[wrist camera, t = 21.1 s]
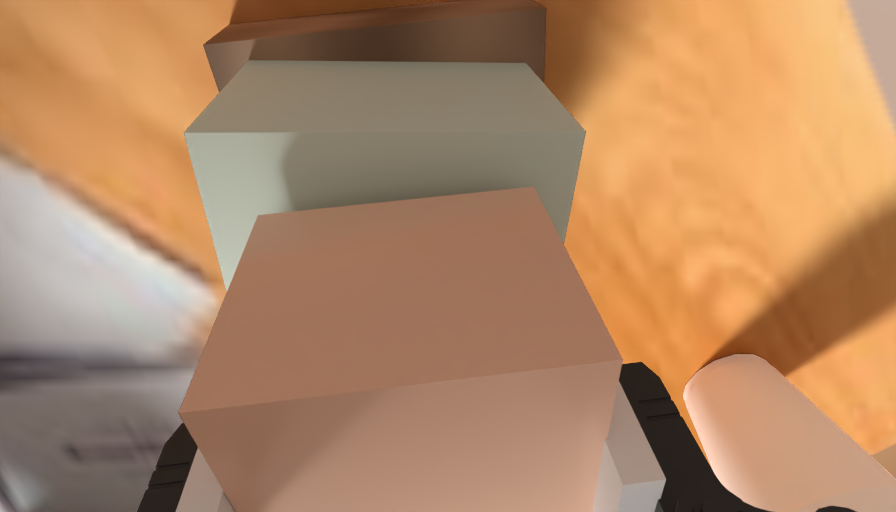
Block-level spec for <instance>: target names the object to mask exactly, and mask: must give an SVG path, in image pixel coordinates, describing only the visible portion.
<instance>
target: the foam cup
mask: <svg viewBox="0 0 896 512" xmlns="http://www.w3.org/2000/svg"><path fill="white" fill-rule="evenodd" d="M683 399H684V401H685V402H686V407H687V409H688V412H689V414H690V417H691V419H692V421H693V424H694V426H695V429H696V431H697V433H698V436H699V438H700V441H701V443H702V445H703V448H704V450H705V453H706V455H707V457H708V460H709V462H710V464H711V467H712V469H713V472H714V474H715V475H716V477H717V478H718V480H719V481H720V482H721V484H722V485H723V486H724V487H725V488H726V489H727V490H729V491H730V492H731V493H733V494H734V495H736V496H737V497H739V498H740V499H741V500H742V501H743V502H745V503H747V504H750V505H752V506H754V507H756V508H760V509H763V510H767V511H772V512H816V511H817V510H818V509H819V508H823V507H827V506H838V507H845V508H849V509H852V510H854V511H856V512H896V478H895V477H894V476H892V475H891V474H890V473H889V472H888V471H887V470H886V469H885V468H883V466H881V465H880V464H879V463H878V462H877V461H876V460H875V459H874V458H873V457H872V456H871V455H869V454H868V453H867V452H866V451H865V450H864V449H863V448H862V447H861V446H860V445H859V444H857V443H856V442H855V441H854V440H853V439H852V438H851V437H850V436H849V435H848V434H847V433H845V432H844V431H843V430H842V429H841V428H840V427H839V426H838V425H837V424H836V423H835V422H833V421H832V420H831V419H830V418H829V417H828V416H827V415H826V414H825V413H824V412H823V411H821V410H820V409H819V408H818V407H817V406H816V405H815V404H814V403H813V402H812V401H811V400H809V399H808V398H807V397H806V396H805V395H804V394H803V393H802V392H801V391H800V390H799V389H797V388H796V387H795V386H794V385H793V384H792V383H791V382H790V381H789V380H788V379H787V378H785V377H784V376H783V375H782V374H781V373H780V372H779V371H778V370H777V369H776V368H775V367H773V366H771V365H770V364H769V363H768V362H767V361H766V360H765V359H763V358H761V357H759V356H757V355H754V354H734V355H731V356H727V357H724V358H721V359H718V360H715V361H713V362H711V363H710V364H708V365H707V366H705V367H703V368H702V369H700V370H699V371H697V372H696V373H695V374H694V376H693V377H692V378H691V379H690V380H689V382H688V383H687V384H686V386H685V390H684V395H683Z"/></svg>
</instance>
